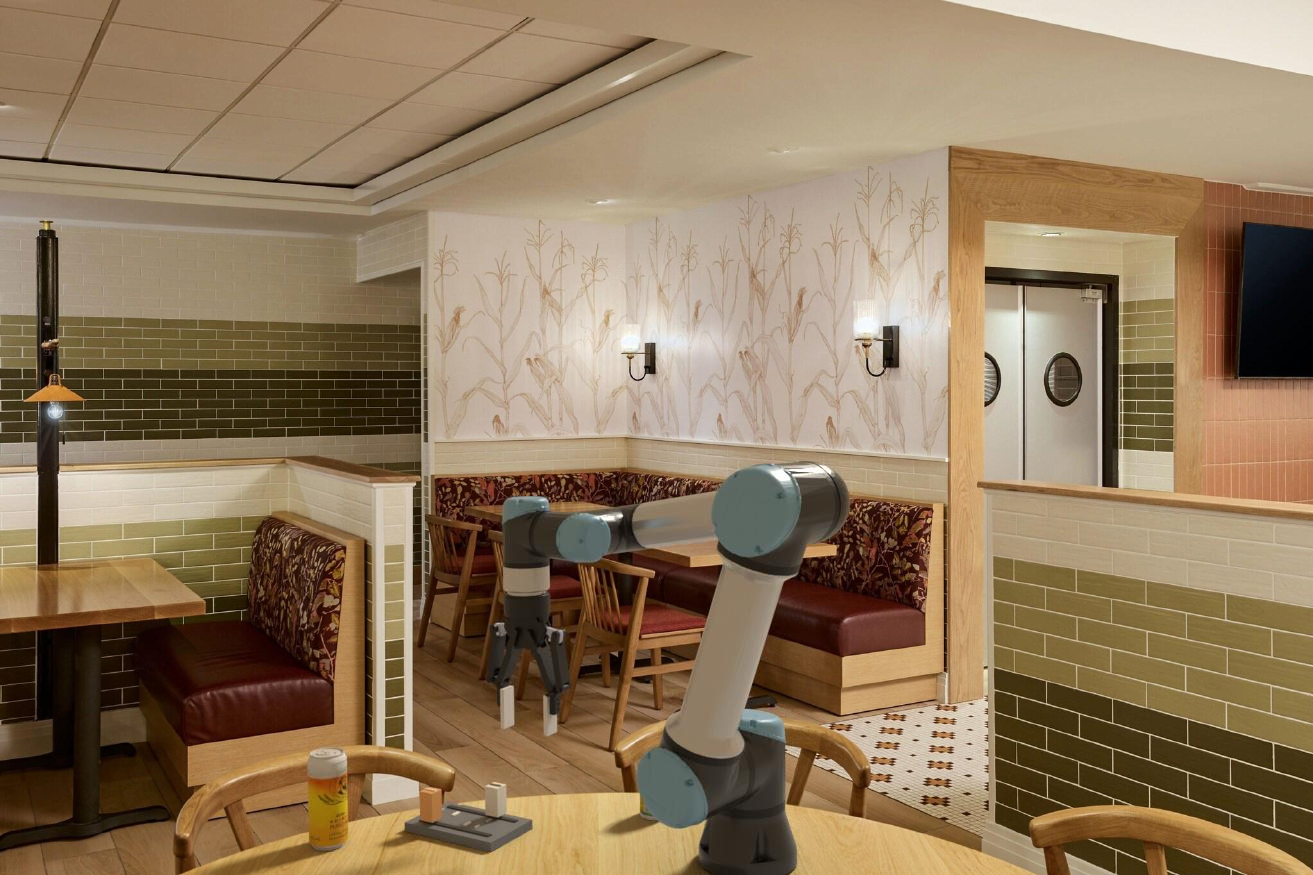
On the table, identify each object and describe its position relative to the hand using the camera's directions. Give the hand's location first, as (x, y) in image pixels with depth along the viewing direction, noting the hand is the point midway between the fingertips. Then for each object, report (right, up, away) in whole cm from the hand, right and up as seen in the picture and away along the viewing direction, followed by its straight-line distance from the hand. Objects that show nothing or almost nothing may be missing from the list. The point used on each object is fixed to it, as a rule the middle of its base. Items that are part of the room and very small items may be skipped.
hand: (528, 729), depth 185 cm
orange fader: (-16, -15, +2) cm, 22 cm away
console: (-10, -17, +3) cm, 20 cm away
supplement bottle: (+21, -17, +8) cm, 28 cm away
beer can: (-32, -18, -3) cm, 37 cm away
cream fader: (-6, -15, +4) cm, 17 cm away
